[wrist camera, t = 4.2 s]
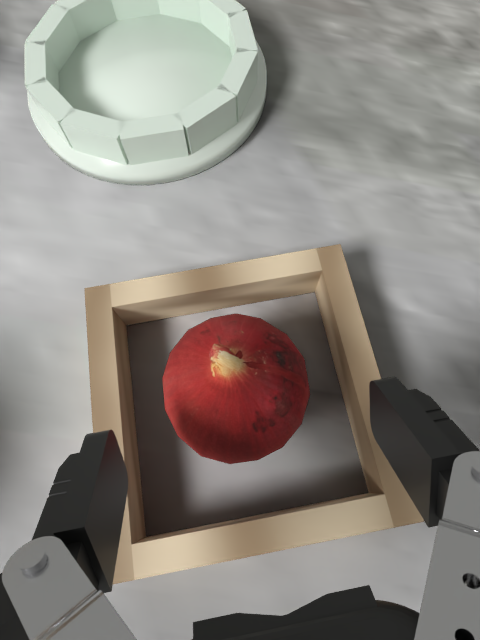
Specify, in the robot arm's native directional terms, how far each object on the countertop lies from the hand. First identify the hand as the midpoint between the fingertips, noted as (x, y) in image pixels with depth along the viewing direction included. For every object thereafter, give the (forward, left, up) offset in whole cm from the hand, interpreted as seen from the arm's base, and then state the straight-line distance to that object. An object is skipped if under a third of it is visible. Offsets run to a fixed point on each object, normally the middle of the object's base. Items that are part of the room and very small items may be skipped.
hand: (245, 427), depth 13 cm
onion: (0, -2, -7) cm, 8 cm away
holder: (0, -2, -7) cm, 7 cm away
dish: (+2, -23, -7) cm, 24 cm away
